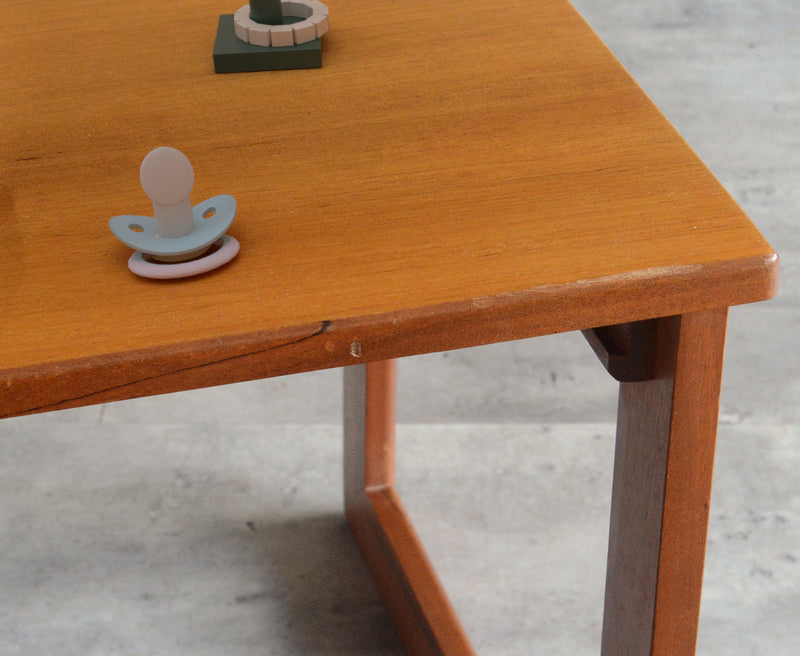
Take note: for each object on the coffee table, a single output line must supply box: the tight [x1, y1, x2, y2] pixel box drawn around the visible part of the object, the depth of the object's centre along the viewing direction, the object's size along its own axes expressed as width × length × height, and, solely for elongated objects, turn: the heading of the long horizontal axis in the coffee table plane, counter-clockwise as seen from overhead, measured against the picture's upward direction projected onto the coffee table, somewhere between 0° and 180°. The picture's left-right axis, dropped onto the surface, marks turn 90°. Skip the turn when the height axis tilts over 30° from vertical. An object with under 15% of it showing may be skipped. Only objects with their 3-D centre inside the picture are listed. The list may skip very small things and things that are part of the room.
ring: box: [233, 0, 331, 47], centre depth 91 cm, size 7×7×1 cm
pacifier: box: [108, 146, 241, 280], centre depth 67 cm, size 7×6×6 cm
